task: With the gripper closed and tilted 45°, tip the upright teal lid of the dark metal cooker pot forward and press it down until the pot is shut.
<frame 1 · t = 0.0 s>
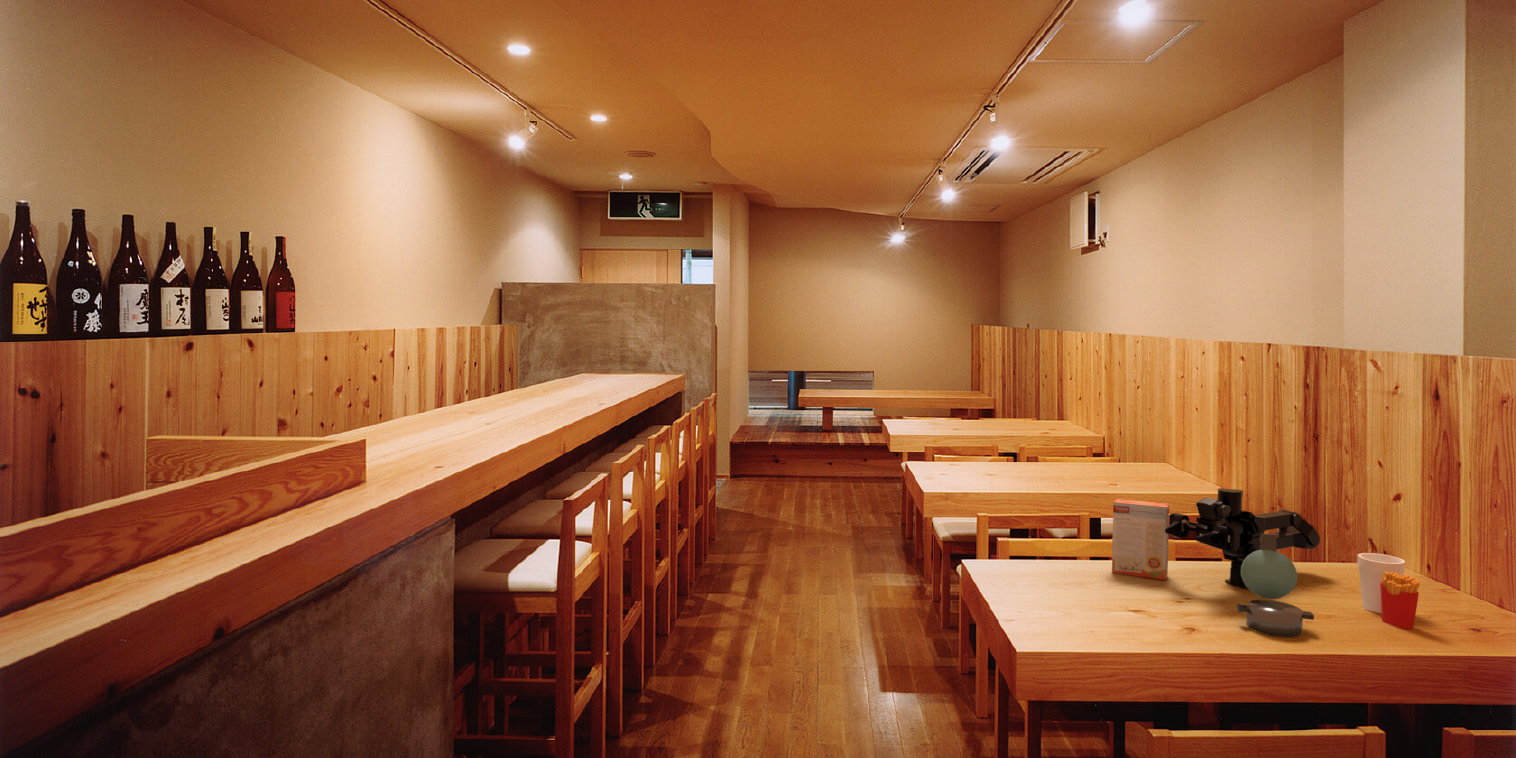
hand: (1180, 534, 210), 17 cm above the table, tool horizontal, fingers open, 9 cm apart
cracker box: (1139, 575, 231), on the table
foam cup: (1378, 610, 202), on the table
french fries: (1398, 625, 192), on the table
lid: (1268, 566, 196), point 13 cm above the table, hinge at 100.0°
cooker pot: (1273, 628, 190), on the table
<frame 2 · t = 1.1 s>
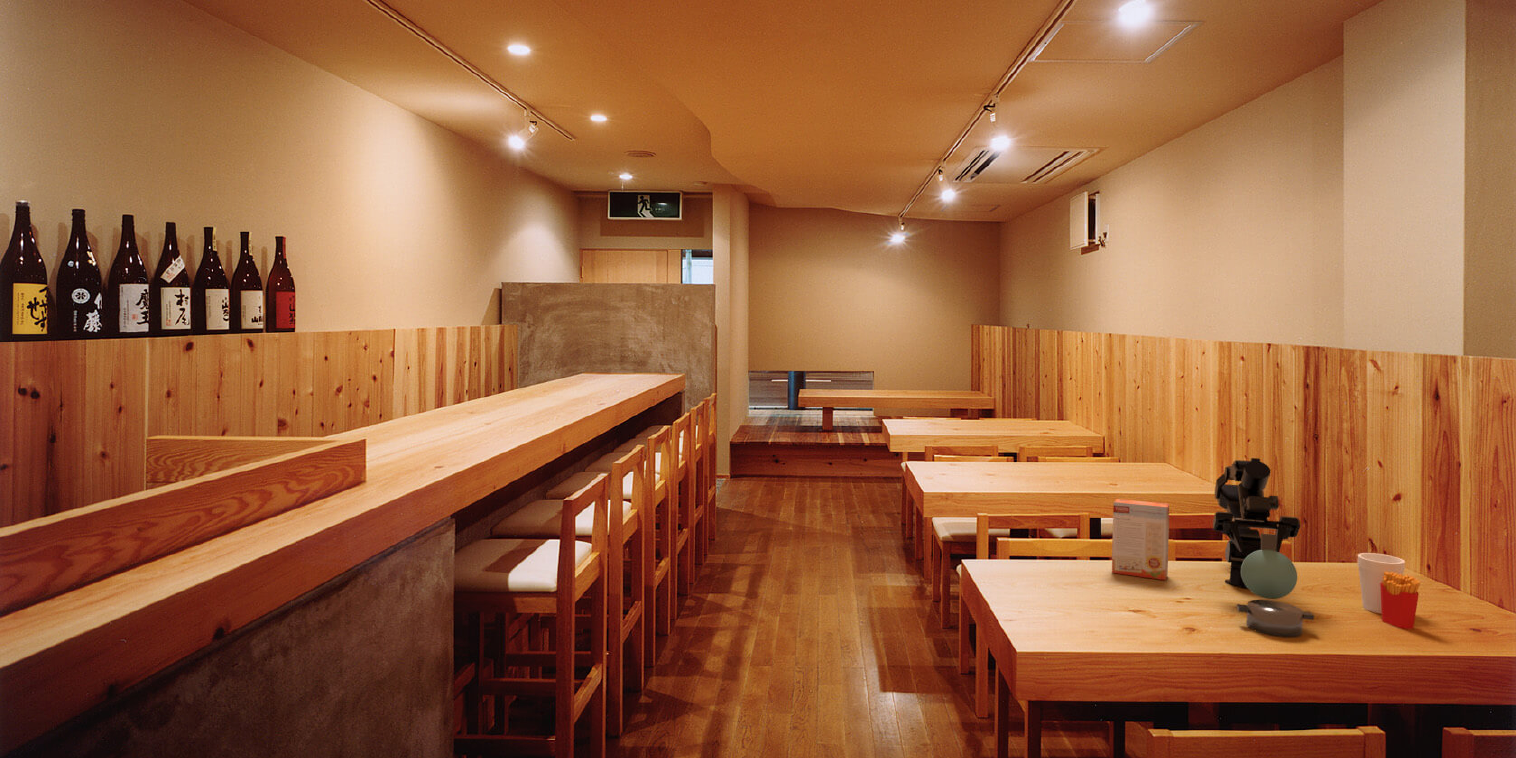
hand: (1259, 552, 204), 14 cm above the table, tool tilted 45°, fingers open, 8 cm apart
nothing on the table moved.
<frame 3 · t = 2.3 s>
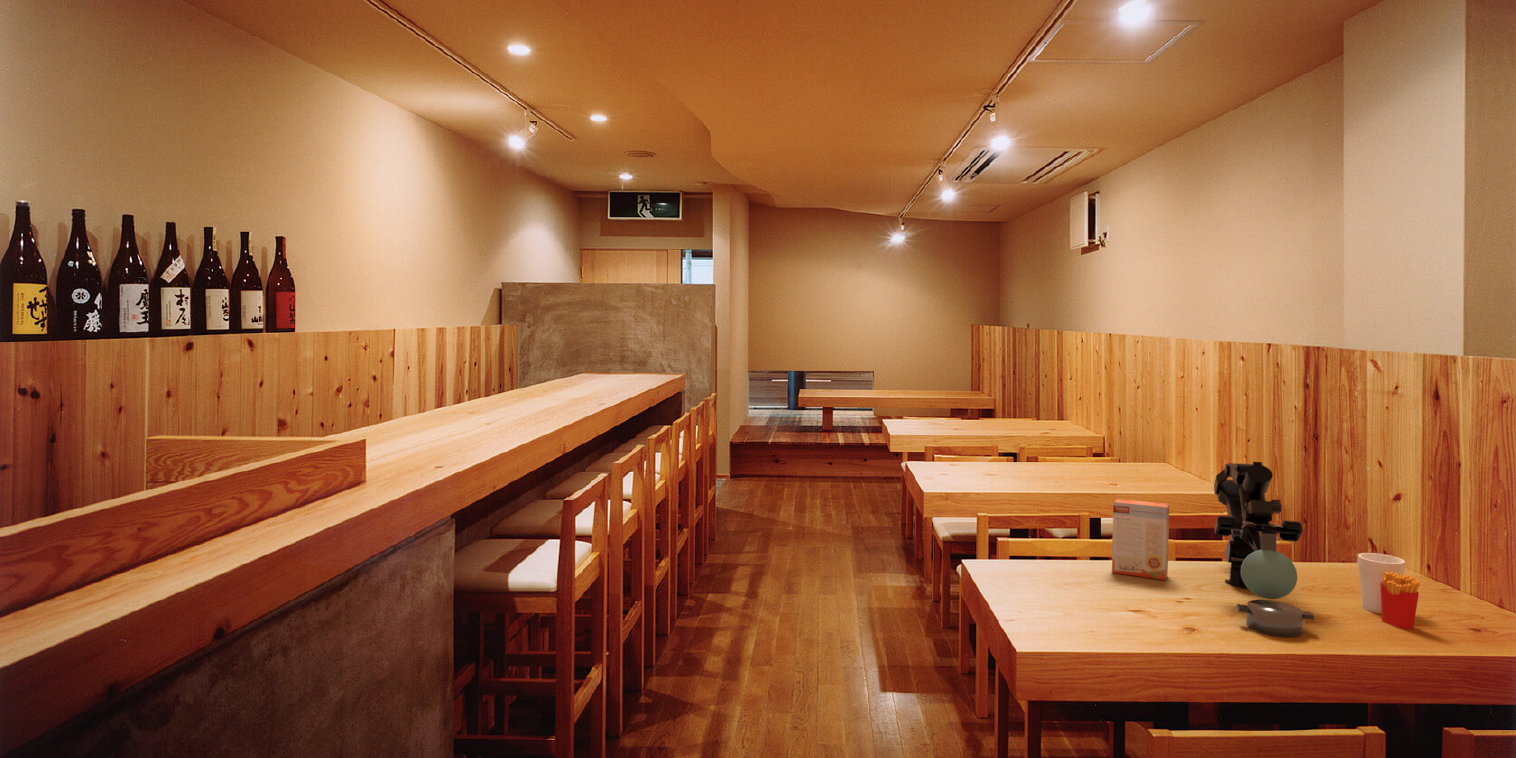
hand: (1261, 557, 202), 13 cm above the table, tool tilted 45°, fingers closed
nothing on the table moved.
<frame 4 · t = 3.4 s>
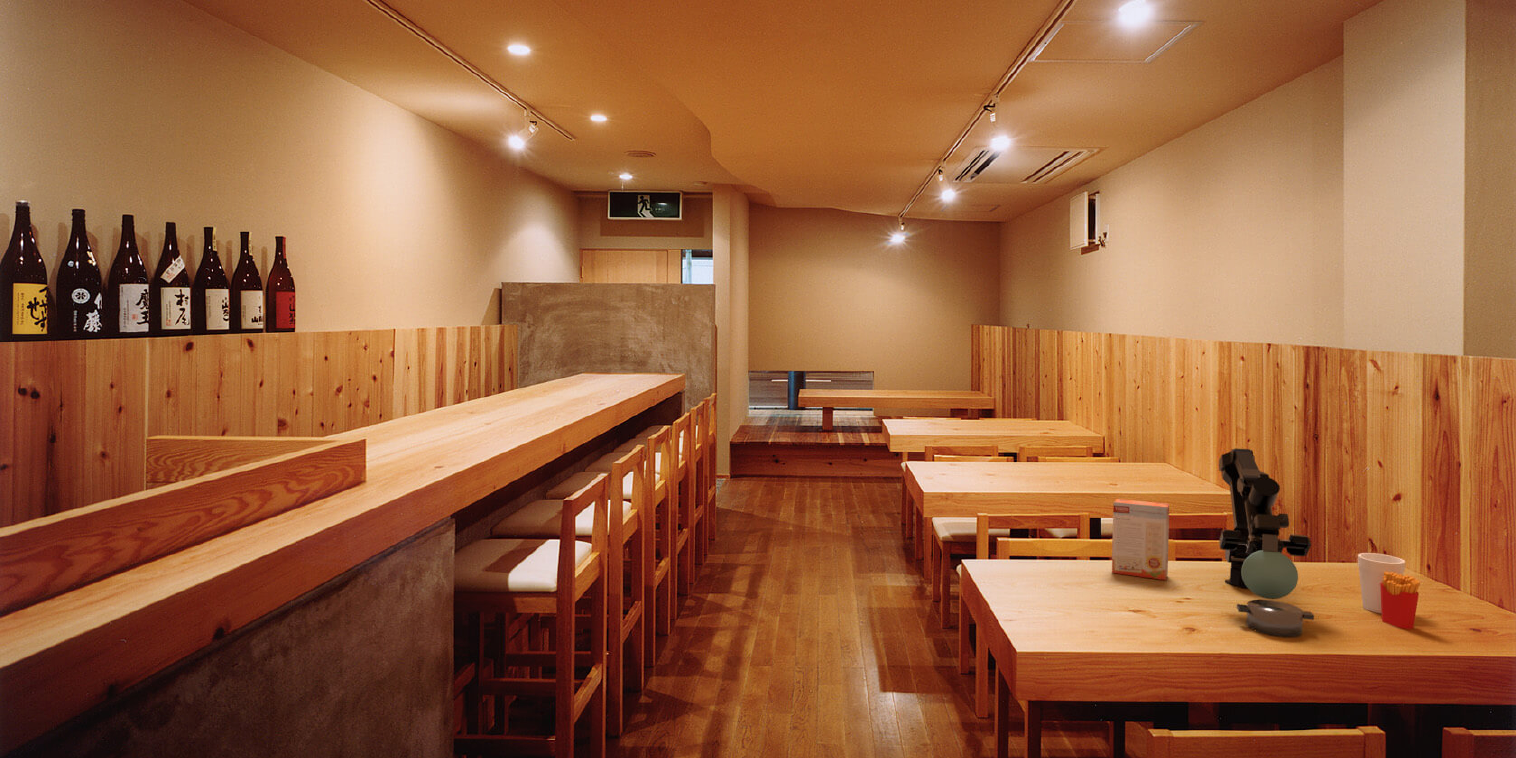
hand: (1268, 573, 196), 11 cm above the table, tool tilted 45°, fingers closed, pressing on lid
lid: (1269, 566, 195), point 13 cm above the table, hinge at 93.5°, touching gripper
everything else where it was.
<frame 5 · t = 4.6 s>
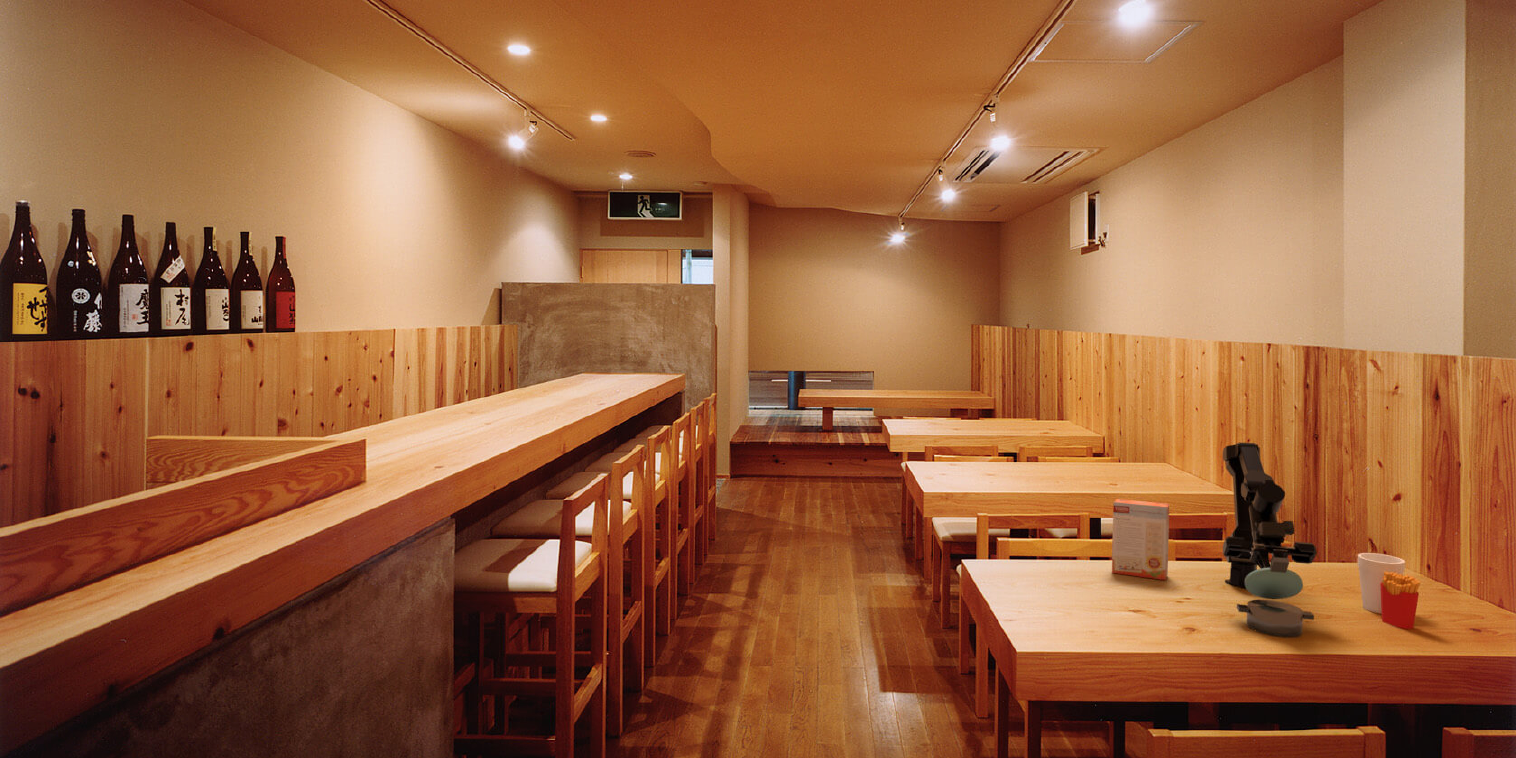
hand: (1273, 582, 191), 10 cm above the table, tool tilted 45°, fingers closed, pressing on lid
lid: (1274, 578, 190), point 12 cm above the table, hinge at 49.9°, touching gripper
everything else where it was.
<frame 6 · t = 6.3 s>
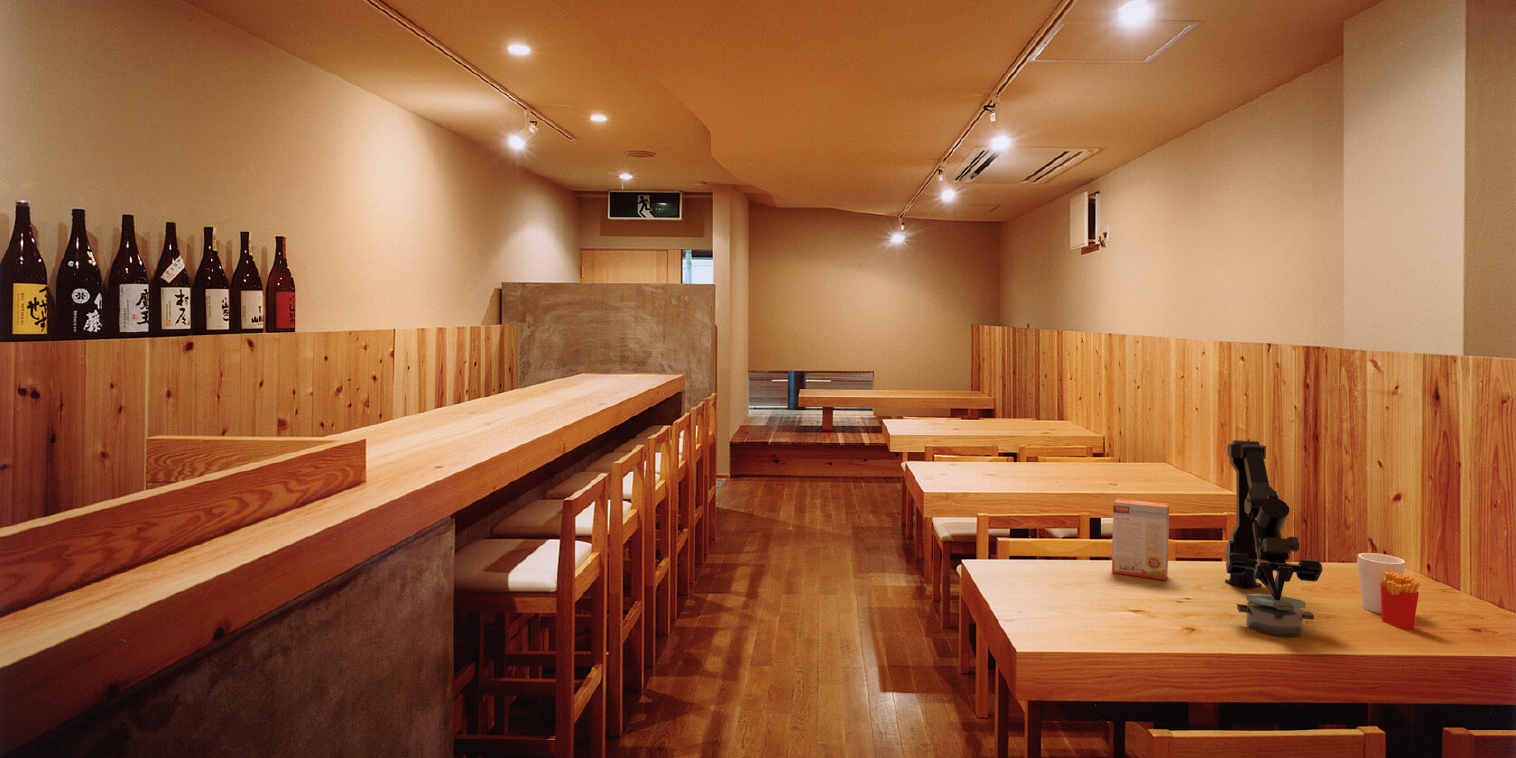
hand: (1278, 599, 187), 8 cm above the table, tool tilted 45°, fingers closed, pressing on lid
lid: (1277, 601, 187), point 7 cm above the table, hinge at 8.6°, touching gripper
everything else where it was.
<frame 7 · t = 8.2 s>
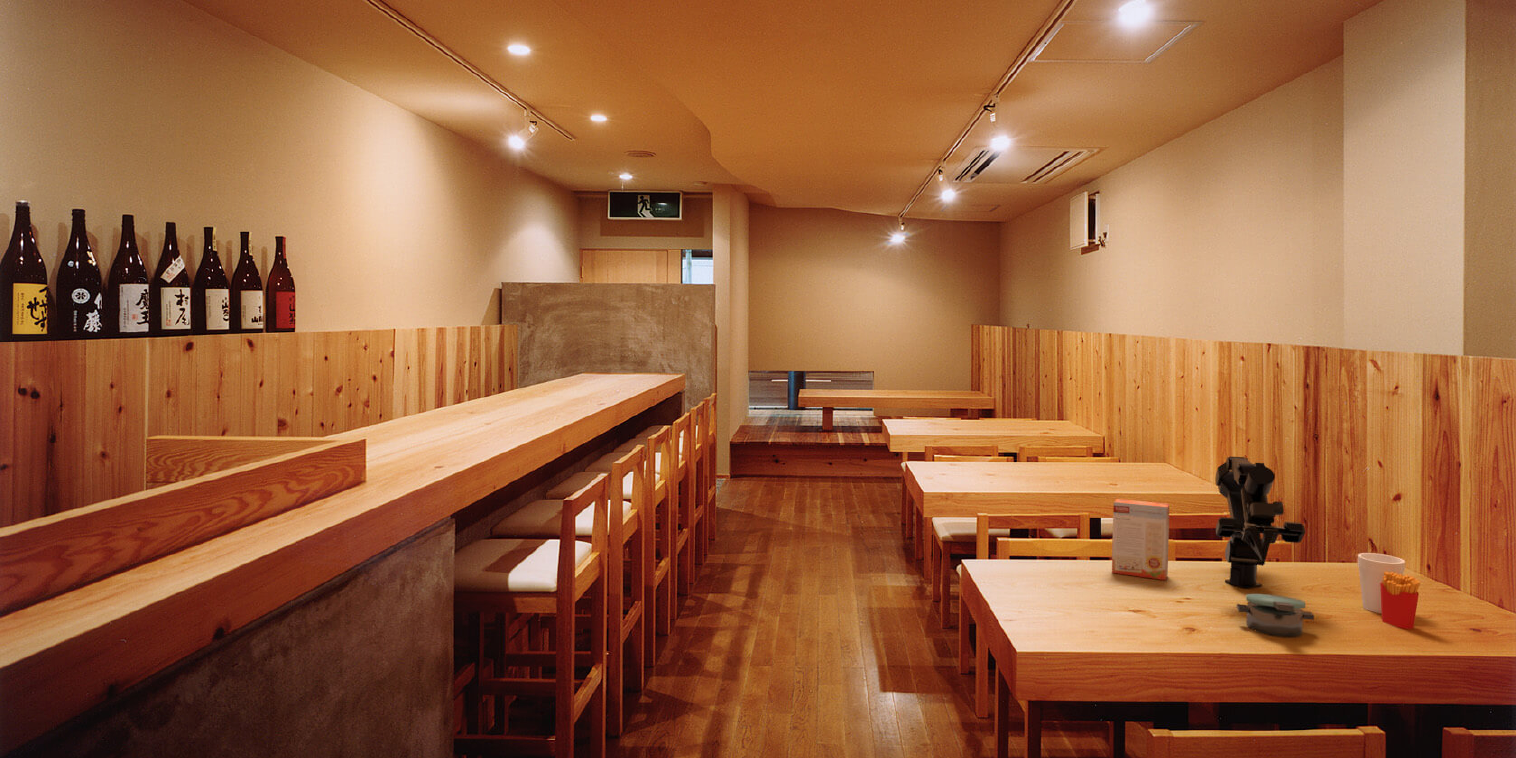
hand: (1263, 559, 201), 13 cm above the table, tool tilted 45°, fingers closed
lid: (1277, 601, 187), point 7 cm above the table, hinge at 8.2°
everything else where it was.
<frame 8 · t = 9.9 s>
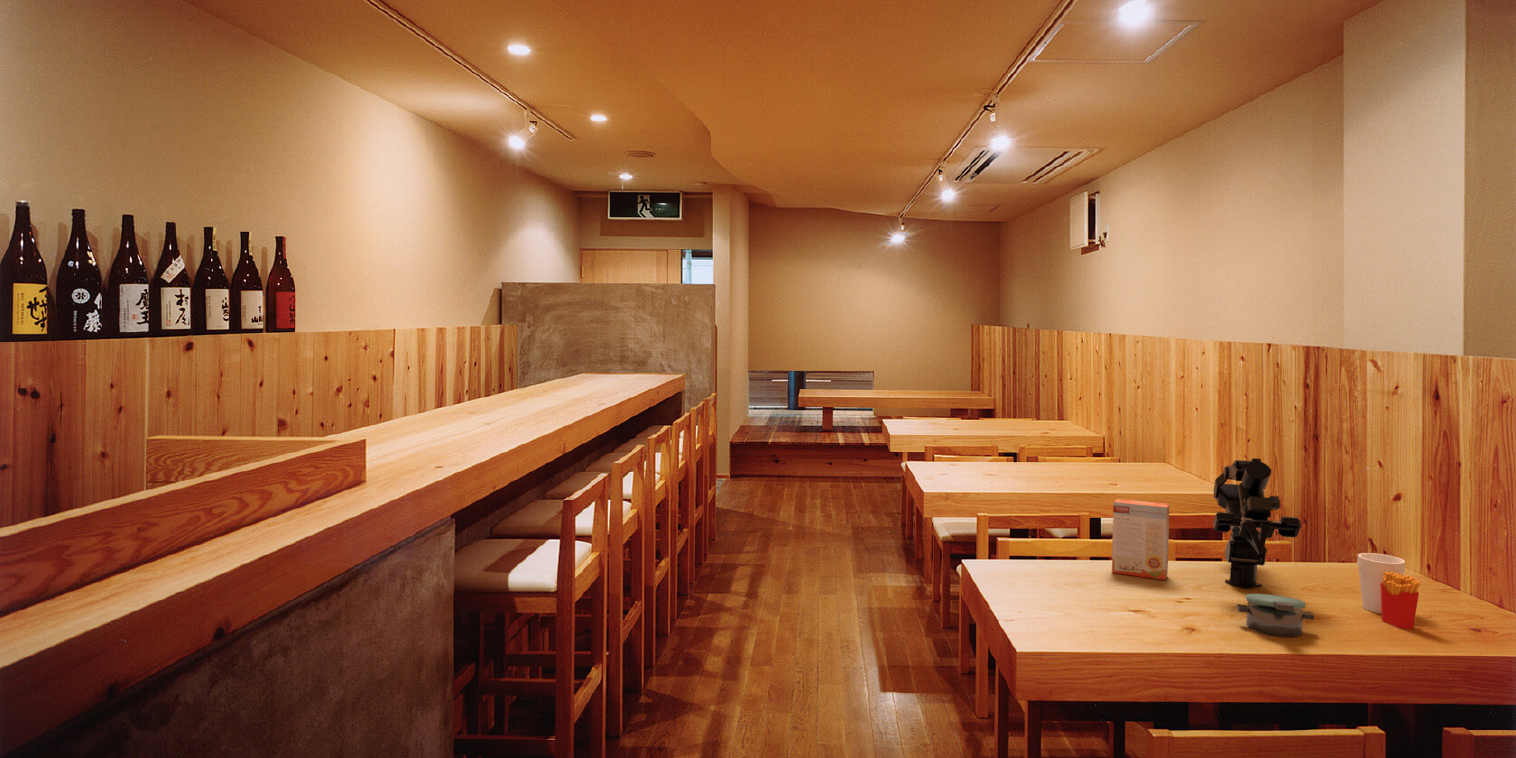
hand: (1260, 553, 204), 14 cm above the table, tool tilted 45°, fingers closed
nothing on the table moved.
at the end: lid at +8° (first picture: +100°) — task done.
